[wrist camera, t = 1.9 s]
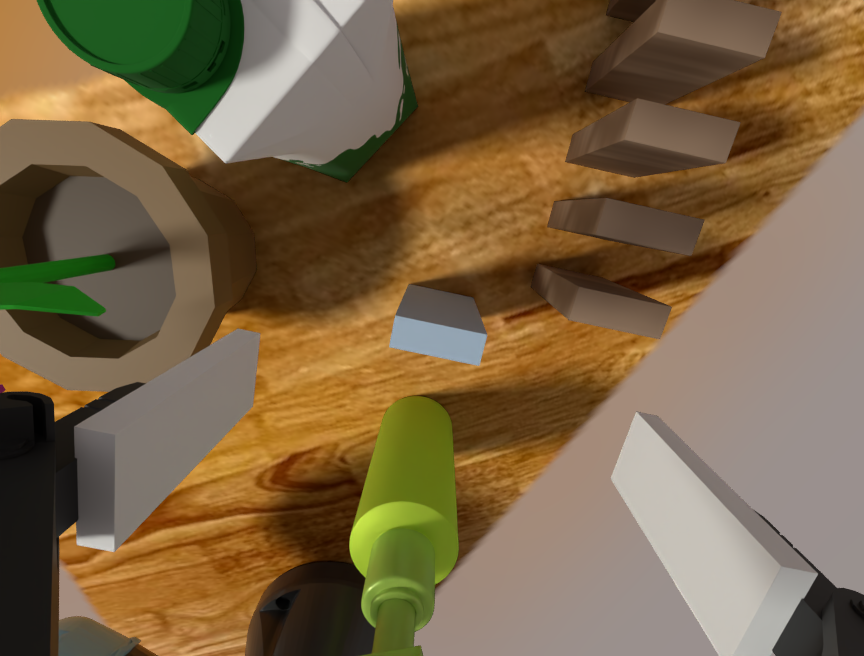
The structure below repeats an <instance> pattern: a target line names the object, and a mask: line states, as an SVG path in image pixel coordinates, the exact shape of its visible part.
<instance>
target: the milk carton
mask: <svg viewBox="0 0 864 656" xmlns="http://www.w3.org/2000/svg"><path fill="white" fill-rule="evenodd" d="M37 2H38V5H39V7H40V10H41V12H42V14H43V16H44V17H45V19H46V21H47V23H48V24H49V26H50V27H51V28H52V30H53V31H54V33H55V34H56V35H57V36H58V38H59V39H60V40H61V41H62V42H63V43H64V44H65V45H66V46H67V47H68V49H69V50H71V51H72V52H73V53H75V54H76V55H77V56H79V57H80V58H81V59H83V60H84V61H86V62H88V63H89V64H90V65H91V66H94V67H96V68H98V69H101V70H103V71H105V72H107V73H110V74H112V75H114V76H117V77H119V78H121V79H124V80H125V81H126V82H127V83H128V84H129V85H131V86H132V87H133V88H134V89H135V90H137V91H138V92H139V93H140V94H142V95H143V96H145V97H146V98H148V99H149V100H151V101H153V102H154V103H156V104H158V105H159V106H161V107H163V108H164V109H166V110H167V111H168V112H169V113H170V114H171V115H172V116H173V117H174V118H175V119H176V120H177V121H178V122H179V123H180V124H181V125H182V126H183V127H184V128H185V129H186V130H187V131H188V132H189V133H190V134H191V135H193V134H194V133H196V134H197V135H198V136H199V137H200V138H201V139H202V140H203V141H204V142H205V144H206V145H207V146H208V147H209V148H210V149H211V150H212V151H213V152H214V153H215V154H216V155H217V156H218V157H219V158H220V159H221V160H222V161H223V162H225V163H233V162H239V161H246V160H253V159H259V158H266V157H275V158H278V159H281V160H285V161H288V162H291V163H294V164H297V165H300V166H304V167H307V168H309V169H312V170H315V171H317V172H320V173H323V174H325V175H328V176H331V177H333V178H336V179H339V180H341V181H344V182H346V183H347V182H348V181H349V180H350V179H351V178H352V177H353V176H354V175H355V174H356V172H357V171H358V170H359V169H360V168H361V167H362V166H363V165H364V164H365V163H366V162H367V161H368V160H369V159H370V157H371V156H372V155H373V154H374V153H375V152H376V151H377V150H378V149H379V148H380V147H381V146H382V145H383V144H384V143H385V141H386V140H387V139H388V138H389V137H390V136H391V135H392V134H393V133H394V132H395V131H396V130H397V129H398V128H399V126H400V125H401V124H402V123H403V122H404V121H405V120H406V119H407V118H408V117H409V116H410V115H411V114H412V113H413V111H414V110H415V109H416V108H417V107H418V104H417V101H416V97H415V93H414V90H413V86H412V82H411V78H410V74H409V71H408V67H407V63H406V59H405V56H404V52H403V48H402V43H401V39H400V35H399V30H398V26H397V21H396V17H395V13H394V8H393V0H37Z"/></svg>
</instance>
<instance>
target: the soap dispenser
mask: <svg viewBox="0 0 864 656" xmlns="http://www.w3.org/2000/svg"><path fill="white" fill-rule="evenodd" d="M349 549H350V554H351V558H352V560H353V562H354V564H355V566H356V568H357V569H358V570H359V572H360V573H361V574H362V575H363V576H364V577H365V578H366V579H365V584H364V589H363V594H362V600H361V607H362V612H363V614H364V616H365V618H366V620H367V621H368V622H369V623H370V624H371V625H372V626H373V627H375V635H374V641H373V648H372V654H367V655H361V656H423V653H422V649H421V646H415V647H414V632H416V631H418V630H420V629H421V628H423V627H424V626H425V625H426V624H427V623H428V622H429V621H430V619H431V617H432V615H433V611H434V603H435V584H437V583H439V582H440V581H442V580H443V579H444V578H445V577H446V576H447V575H448V574H449V573H450V572H451V570H452V569H453V567H454V565H455V563H456V560H457V557H458V551H459V542H458V524H457V506H456V487H455V469H454V451H453V432H452V422H451V419H450V416H449V414H448V413H447V411H446V410H445V409H444V408H443V407H442V406H441V405H440V404H439V403H438V402H436V401H434V400H432V399H430V398H427V397H422V396H410V397H406V398H403V399H400V400H398V401H396V402H395V403H394V404H392V405H391V406H390V407H389V408H388V410H387V411H386V412H385V414H384V416H383V419H382V423H381V426H380V430H379V434H378V437H377V441H376V444H375V448H374V452H373V455H372V459H371V463H370V466H369V470H368V473H367V477H366V481H365V484H364V488H363V492H362V495H361V499H360V502H359V506H358V510H357V513H356V517H355V521H354V524H353V528H352V531H351V535H350V541H349Z"/></svg>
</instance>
